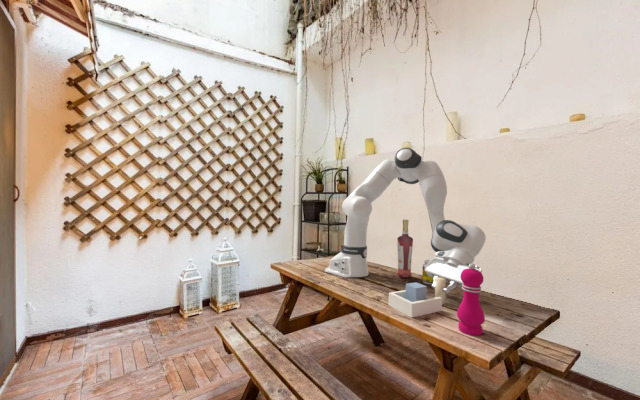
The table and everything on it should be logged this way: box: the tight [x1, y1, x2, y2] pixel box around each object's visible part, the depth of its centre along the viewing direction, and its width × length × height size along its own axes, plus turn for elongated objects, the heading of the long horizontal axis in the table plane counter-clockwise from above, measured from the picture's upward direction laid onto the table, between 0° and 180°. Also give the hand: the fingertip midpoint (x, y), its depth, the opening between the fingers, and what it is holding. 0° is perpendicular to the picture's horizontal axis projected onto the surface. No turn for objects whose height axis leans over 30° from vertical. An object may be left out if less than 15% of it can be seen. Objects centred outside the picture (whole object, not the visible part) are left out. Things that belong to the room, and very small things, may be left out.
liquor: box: [396, 219, 414, 279], centre depth 138 cm, size 7×7×28 cm
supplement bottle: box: [421, 259, 434, 285], centre depth 130 cm, size 6×6×10 cm
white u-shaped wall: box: [388, 289, 443, 318], centre depth 100 cm, size 14×11×4 cm
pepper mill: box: [456, 262, 486, 337], centre depth 84 cm, size 7×7×20 cm
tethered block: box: [405, 277, 447, 306], centre depth 103 cm, size 16×5×9 cm, turn 115°
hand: (439, 289), depth 105 cm, fingers closed on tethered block, 4 cm apart
